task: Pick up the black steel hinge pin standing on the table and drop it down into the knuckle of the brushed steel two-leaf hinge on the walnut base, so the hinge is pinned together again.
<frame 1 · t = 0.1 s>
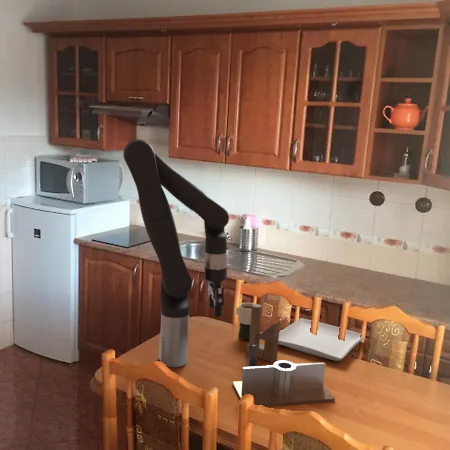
hand: (215, 311, 178), 17 cm above the table, tool pointing down, fingers open, 8 cm apart
hinge stand: (282, 392, 162), on the table
character mug: (246, 338, 201), on the table
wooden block: (261, 357, 186), on the table
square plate: (318, 345, 200), on the table
hinge pin: (251, 374, 173), on the table
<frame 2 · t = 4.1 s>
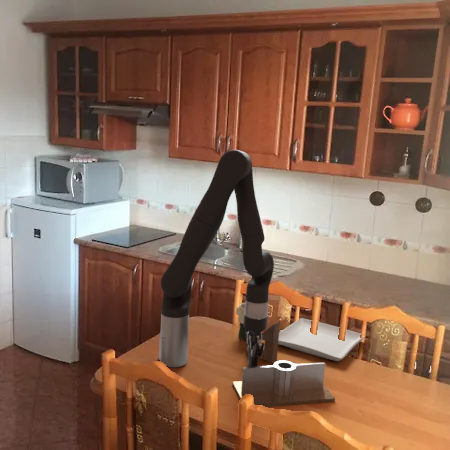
hand: (252, 363, 172), 4 cm above the table, tool pointing down, fingers closed on hinge pin, 2 cm apart
hinge pin: (251, 374, 173), on the table, touching gripper
everything else where it was.
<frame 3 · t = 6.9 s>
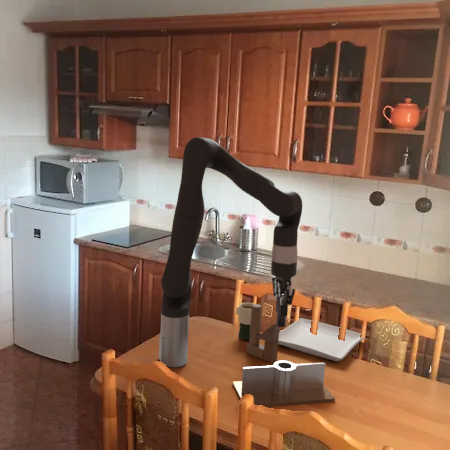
hand: (281, 314, 160), 24 cm above the table, tool pointing down, fingers closed on hinge pin, 2 cm apart
hinge pin: (281, 325, 161), point 20 cm above the table, touching gripper
everything else where it was.
when the fingers open (10 cm above the table, at t = 9.8 s): hinge pin drops 5 cm, resting on hinge stand.
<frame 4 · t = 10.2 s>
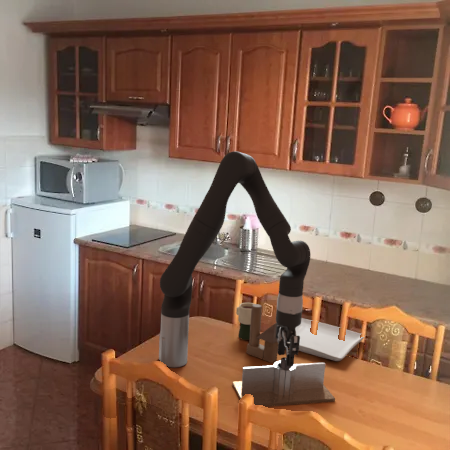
hand: (285, 359, 160), 11 cm above the table, tool pointing down, fingers open, 7 cm apart
hinge pin: (283, 390, 161), point 1 cm above the table, touching hinge stand
everything else where it was.
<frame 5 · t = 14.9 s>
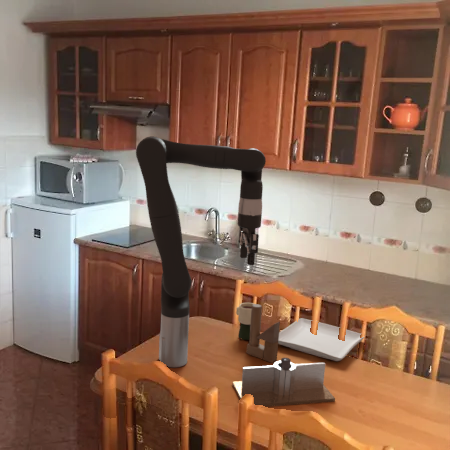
hand: (246, 261, 172), 36 cm above the table, tool pointing down, fingers open, 8 cm apart
nothing on the table moved.
at the end: hinge pin 0.3 cm off-centre on the hinge stand, point 1.0 cm above the hinge stand's base; hinge pin tilted 0°; the gripper is holding nothing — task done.
